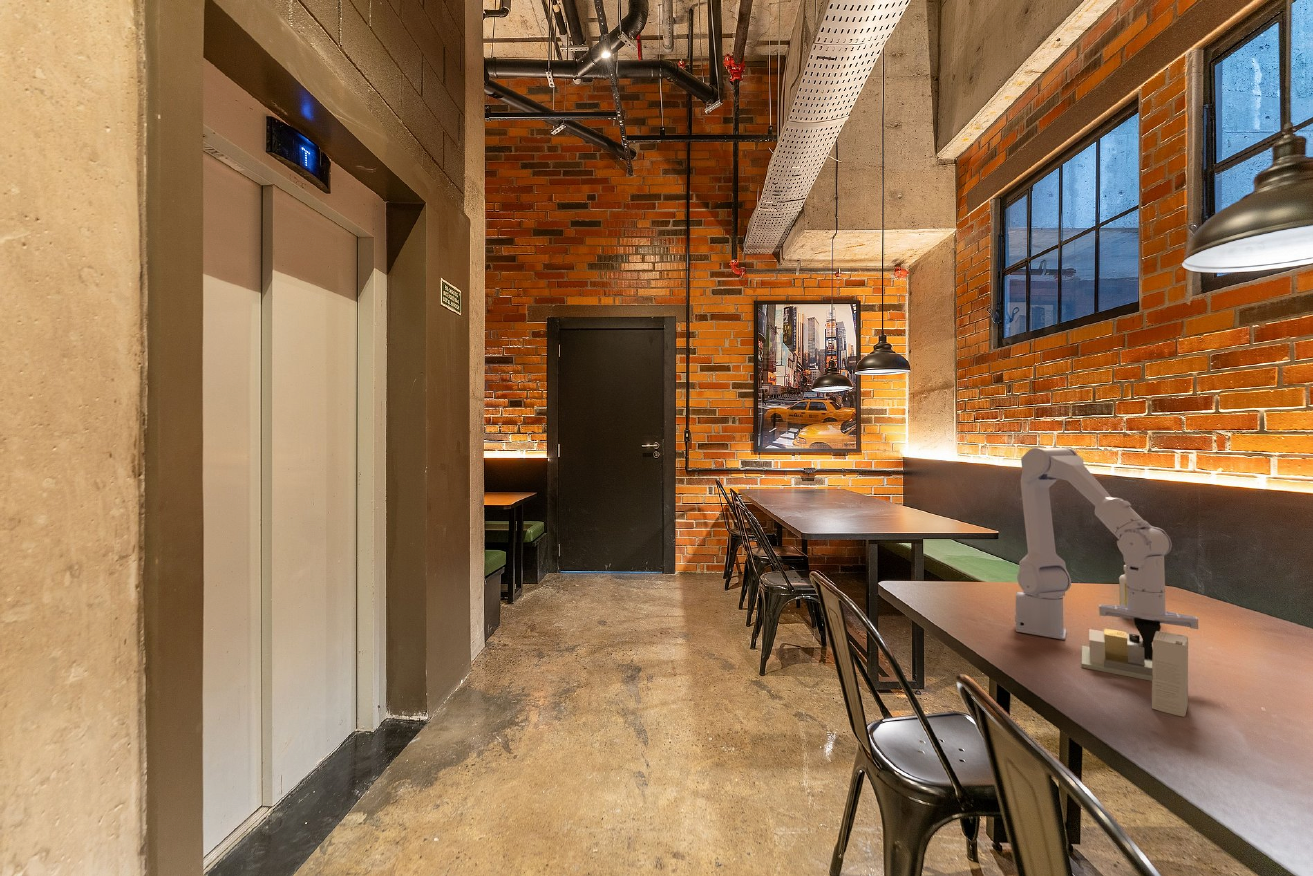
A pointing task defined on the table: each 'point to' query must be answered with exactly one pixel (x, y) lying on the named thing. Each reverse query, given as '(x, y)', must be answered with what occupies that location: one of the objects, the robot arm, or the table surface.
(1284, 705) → the table surface
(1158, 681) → the skincare box
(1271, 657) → the table surface
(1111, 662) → the vise
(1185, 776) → the table surface
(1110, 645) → the block
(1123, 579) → the supplement bottle
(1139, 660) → the block
